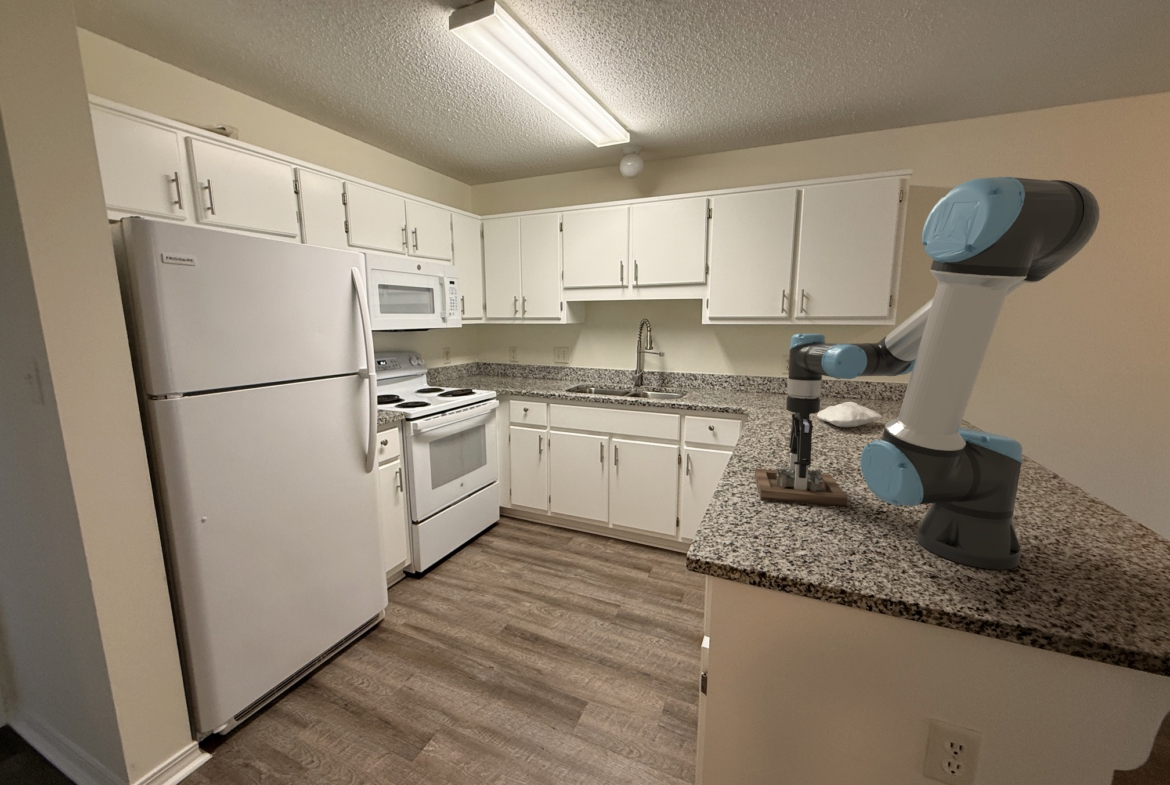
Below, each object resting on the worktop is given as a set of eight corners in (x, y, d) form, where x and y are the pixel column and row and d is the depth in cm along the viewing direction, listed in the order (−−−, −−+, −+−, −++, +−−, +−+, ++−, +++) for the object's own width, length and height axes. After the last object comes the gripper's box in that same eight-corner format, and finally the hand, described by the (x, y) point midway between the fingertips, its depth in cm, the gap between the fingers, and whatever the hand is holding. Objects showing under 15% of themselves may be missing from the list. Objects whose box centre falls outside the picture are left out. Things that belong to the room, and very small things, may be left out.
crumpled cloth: (879, 417, 198) (878, 396, 197) (885, 433, 168) (883, 409, 168) (819, 419, 210) (817, 400, 210) (814, 435, 180) (812, 413, 180)
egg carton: (774, 486, 116) (775, 470, 115) (776, 477, 122) (777, 462, 122) (821, 492, 111) (822, 476, 110) (821, 483, 117) (822, 468, 117)
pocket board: (846, 508, 106) (847, 498, 106) (760, 499, 111) (761, 490, 111) (829, 483, 122) (830, 474, 122) (754, 477, 127) (755, 468, 127)
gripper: (830, 403, 102) (822, 500, 106) (811, 390, 122) (805, 472, 125) (794, 402, 104) (787, 496, 108) (781, 389, 124) (776, 469, 127)
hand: (797, 483), depth 116 cm, fingers closed on egg carton, 8 cm apart
